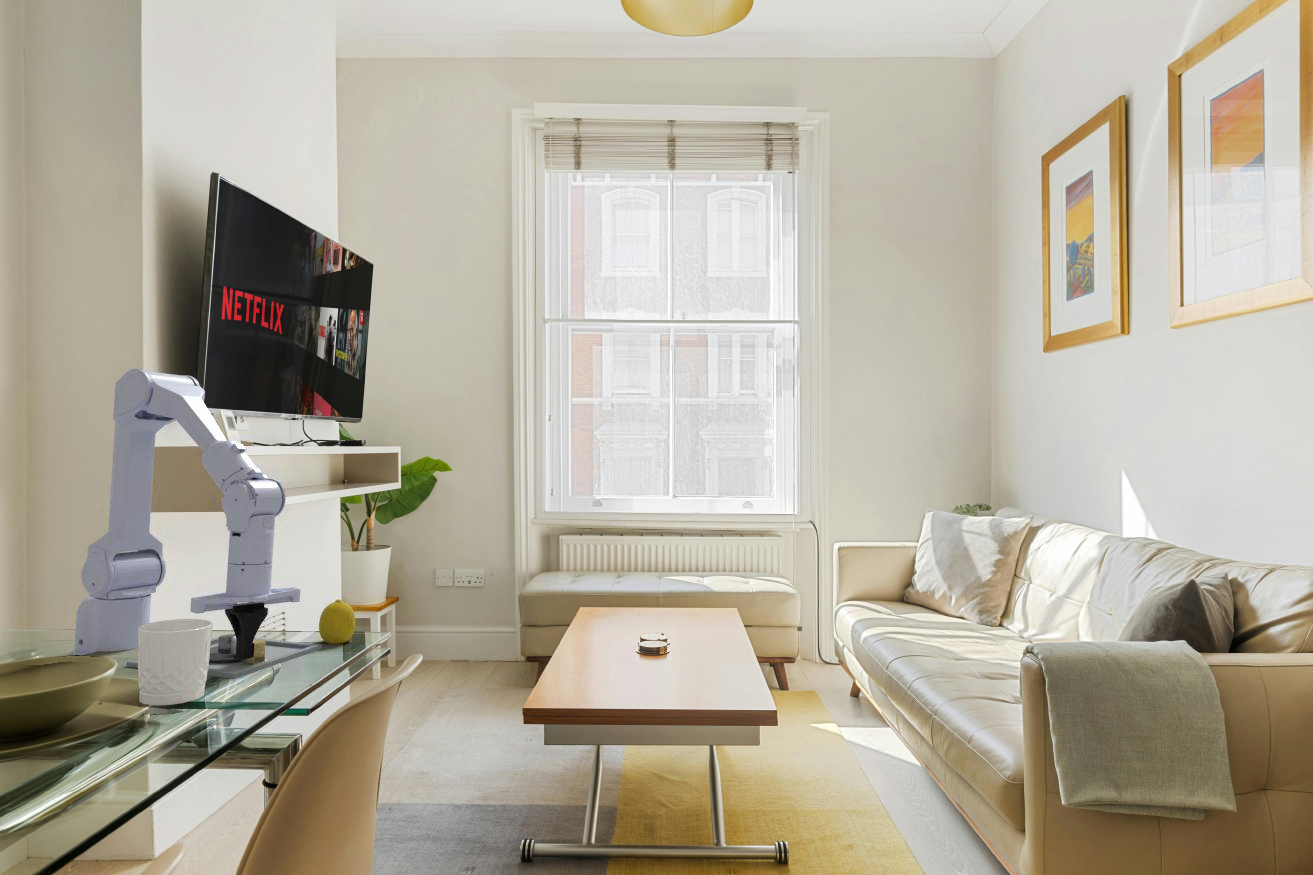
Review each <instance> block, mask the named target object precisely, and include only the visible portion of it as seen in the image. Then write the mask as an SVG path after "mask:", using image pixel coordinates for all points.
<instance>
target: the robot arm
mask: <svg viewBox="0 0 1313 875" xmlns="http://www.w3.org/2000/svg"><path fill="white" fill-rule="evenodd" d="M114 384H115V387H114V403H113V414H112V415H113V416H112V418H113V421H115V423H114V438H113V452H112V467H111V484H110V485H111V486H110V497H109V498H110V499H109V500H110V501H109V516H108V528H107V532H106V533H105V534H104V535H102V536H101V537H99V538H98V539H97V540H94V541H93V542H92V543H91V544H89V545H88V547H87V555H86V559H85V562H84V564H83V566H82V569H81V576H80V577H81V583H82V587H84V589H85V591H86V592H87V593H88V595H89V596H87V597H86V598H84V599H83V600H82V602H80V604H79V607H78V608H77V611H76V618H75V633H74V634H75V635H74V649H73V650H70V651H69V652H68V654H69V655H70V656H75V655H80V656H84V655H87V654H93V653H96V652H97V653H98V652H120V651H129V650H136V649H138V628H139V627H140V626H142V625H144V624H148V623H151V621H150V620H151V605H152V604H151V603H152V594H155V593H157V587H159V586H161V584H162V582H164V580H165V576H166V571H167V566H166V565H167V564H166V561H165V559H164V552H163V551H164V550H163V548H164V543H163V542H162V541H161V540H160V539H158V538H157V537H156V536H154V535H153V534H152V533H151V531H150V529H151V528H150V527H151V511H152V496H153V483H154V482H153V480H154V465H155V464H154V462H155V445H156V434H157V433H158V432H159V431H160V430H161V429H163V428H164V427H165V426H166V425H170V424H172V423H174V422H177V423H178V424H179V425H180V427H181V428H182V429H183V430H184V431H185V432H186V433H187V435H188V436H189V437H190V439H192V441H194V443H195V444H196V445H197V446H198V448H200V450H201V451H202V452H203V454H202V457H201V465H202V466H203V468H204V469H205V470H206V472H207V473H208V475H209V476H210V478H211V479H212V480H213V482H214V483H215V484H216V485H217V487H218V489H219V490H220V491H221V493H222V494H223V497H221V498H220V501H221V502H220V503H221V508H222V512H223V513H224V514H225V517H226V518H225V519H226V524H225V526H226V528H227V530H228V532H229V538H228V554H227V555H228V556H227V568H226V569H227V570H226V571H227V572H226V583H225V584H226V585H225V592H220V593H215V594H208V595H203V596H195V597H194V596H193V597H191V598H190V612H191V613H194V614H196V615H197V614H203V613H205V612H206V613H207V612H214V611H223V610H224V613H225V616H226V617H227V619H228V621H229V623H230V626H231V627H232V629H233V632H234V633H233V634H235V636H236V639H237V641H236V657H238V658H240V659H249V658H251V655H252V646H253V640H254V638H256V635H257V634H258V631H259V629H260V628H261V626H262V624H263V622H264V621H265V619H266V618H267V616H268V614H269V608H268V607H265V606H266V605H273V604H274V605H275V604H276V605H277V604H281V603H282V604H284V603H285V604H286V603H298V602H300V600H301V588H298V587H284V588H283V587H281V588H279V587H278V588H271V587H272V572H273V571H272V570H273V567H272V566H273V556H274V542H275V541H274V539H275V526H276V525H275V524H276V523H275V522H276V517H277V516H279V515H280V514H281V512H282V511H283V510H284V508H285V504H286V499H287V498H286V493H285V490H284V487H283V485H282V483H281V481H280V480H278V479H275V478H274V477H273V478H271V477H268V476H267V474H263V472H262V471H261V470H260V468H258V466H257V465H256V464H255V462H254V461H253V460H252V458H251V457H250V456H249V454H248V453H247V452H246V451H247V448H246V447H245V446H244V444H243V443H239V442H238V441H236V440H229V439H228V440H227V439H226V437H225V435H224V433H223V432H222V430H221V428H220V427H219V424H217V422H216V420H215V419H214V417H213V415H212V413H211V412H210V410H209V409H208V407H207V405H206V404H205V397H206V396H205V395H206V390H204V388H202V386H201V385H200V383H199V381H198V379H196V378H195V377H193V376H192V375H186V374H184V375H179V374H171V373H165V372H158V371H157V372H155V371H150V370H143V369H139V368H131V369H128V370H127V371H126V372H125V373H124V374H123V375H122V376H121V377H120V378H119V379H117V381H116V382H115V383H114Z"/></svg>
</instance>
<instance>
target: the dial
mask: <svg viewBox="0 0 1313 875" xmlns="http://www.w3.org/2000/svg"><path fill="white" fill-rule="evenodd" d="M217 638H218V646H216V647H211V648H210V657H209V662H233V661H242V662H246V663H250V664H258V663H261V662H264V661H265V644H266V641H262V640H253V646H252V655H251V658H249V659H240V658H238V657H236V641H237V639H236V636H235V633H230V634H224V635H223V634H222V635H219V636H218V637H217Z"/></svg>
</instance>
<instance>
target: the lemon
mask: <svg viewBox="0 0 1313 875" xmlns="http://www.w3.org/2000/svg"><path fill="white" fill-rule="evenodd" d="M355 628H356V615H355V610H354V609H353V607H352V606H351V605H349V604H348V603H347V602H345V601H343V600H342V599H335V601H334V602H331V603H329V604H328V605H327V606H325V608H324V609H323V610H322V612H321V614H320V618H319V622H318V631H319V635H320V638H321V639H322V640H323V641H324V642H325V643H326V644H328V645H329V644H332V645H333V644H334V645H335V644H337V645H338V644H344V643H347V642H349V640H350V639H351V638H352V637H353V635H354V632H355V630H356V629H355Z"/></svg>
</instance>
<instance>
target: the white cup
mask: <svg viewBox="0 0 1313 875" xmlns="http://www.w3.org/2000/svg"><path fill="white" fill-rule="evenodd" d="M213 625H214V622H213V621H211V620H207V619H201V618H200V619H199V618H180V619H179V618H177V619H165V620H159V621H153V622H150V623H148V624H144V625H142V626H140V627H139V628H138V648H137V659H138V668H137V671H138V680H137V681H138V682H137V683H138V684H137V685H138V688H139V692H138V693H139V695H138V696H139V697H138V698H139V700H138V701H139V703H141V704H143V705H147V704H148V706H150V707H151V706H171V705H178V704H185V703H188V702H193V701H195V700H199V698H202V697H203V696H204V695H205V688H206V682H207V680H208V676H207V672H208V666H209V657H210V647H211V639H212V633H213ZM184 712H185V711H184V710H176V709H167V708H159V707H151V708H150V710H149V713H150V714H149V715H154V714H157V715H171V714H178V713H179V714H180V713H184Z"/></svg>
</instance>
